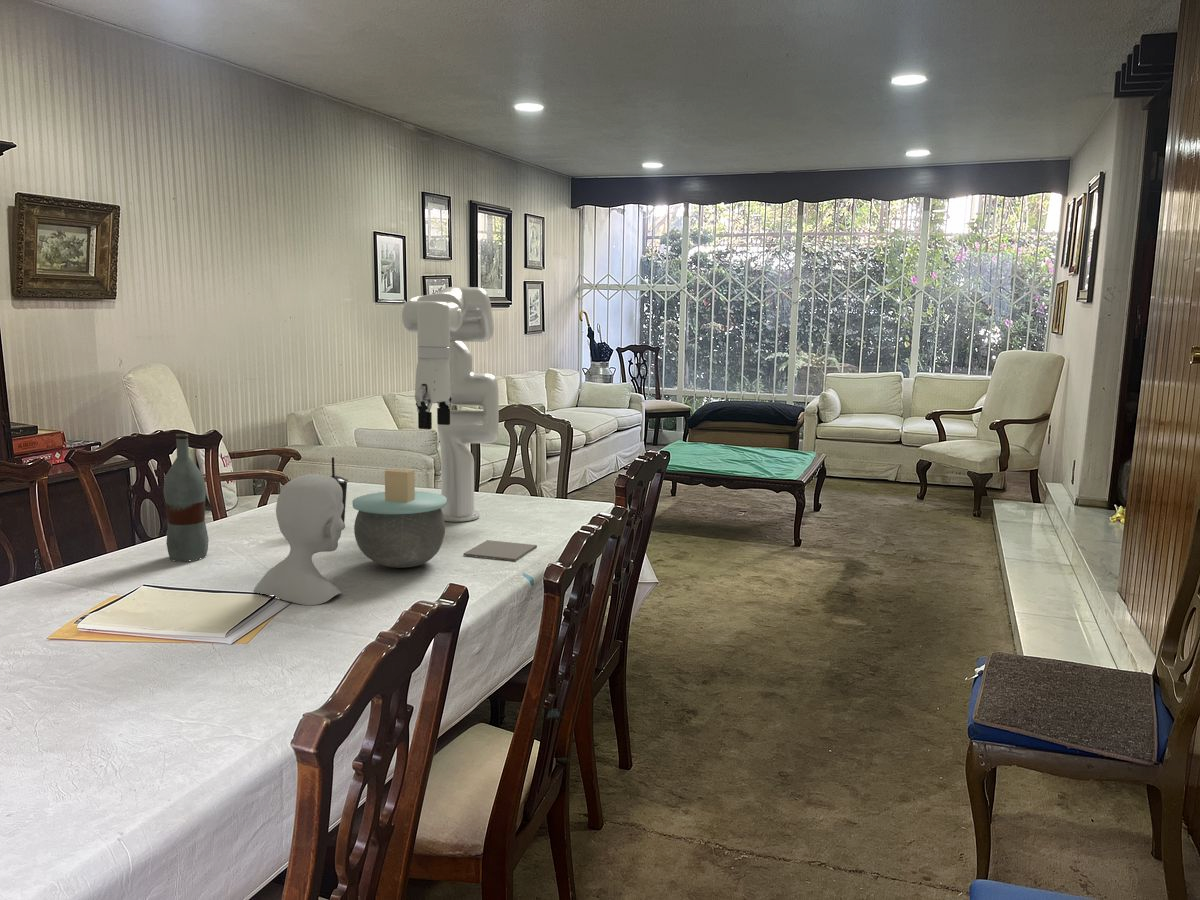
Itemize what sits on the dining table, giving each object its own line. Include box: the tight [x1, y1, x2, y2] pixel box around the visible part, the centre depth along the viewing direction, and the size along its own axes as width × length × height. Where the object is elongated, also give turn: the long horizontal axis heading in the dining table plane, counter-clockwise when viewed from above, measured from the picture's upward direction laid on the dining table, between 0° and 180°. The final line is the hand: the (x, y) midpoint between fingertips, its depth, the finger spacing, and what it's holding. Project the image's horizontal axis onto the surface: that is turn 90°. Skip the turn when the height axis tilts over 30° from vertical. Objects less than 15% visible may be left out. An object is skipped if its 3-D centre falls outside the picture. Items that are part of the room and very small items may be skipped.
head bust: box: [253, 473, 346, 606], centre depth 191 cm, size 22×19×25 cm
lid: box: [351, 468, 447, 514], centre depth 208 cm, size 22×22×8 cm
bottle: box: [162, 433, 209, 562], centre depth 212 cm, size 9×9×30 cm
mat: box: [463, 539, 538, 562], centre depth 224 cm, size 14×14×1 cm
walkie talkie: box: [329, 456, 349, 524], centre depth 243 cm, size 8×8×20 cm
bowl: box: [353, 508, 446, 569], centre depth 210 cm, size 21×21×15 cm
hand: (434, 426), depth 211 cm, fingers open, 9 cm apart
